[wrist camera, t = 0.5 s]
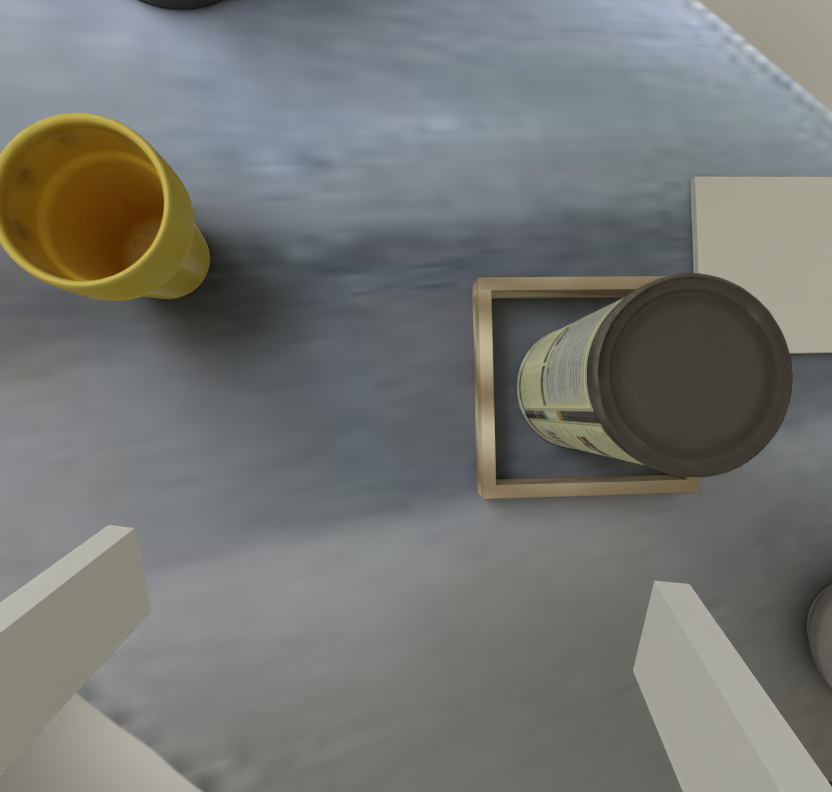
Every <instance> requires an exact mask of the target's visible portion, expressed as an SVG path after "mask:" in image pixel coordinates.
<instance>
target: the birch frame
mask: <svg viewBox="0 0 832 792" xmlns="http://www.w3.org/2000/svg"><path fill="white" fill-rule="evenodd" d="M662 277H665V276H619V277H486V278H478V279H477V280H476V282H475V283H474V285H473V287H472V294H473V336H474V378H475V421H476V463H477V492H478V493H479V495H480V496H481V497H482V498H483V499H495V498H528V497H561V496H593V495H626V494H659V493H692V492H699V477H681V476H675V475H670V474H664V475H629V476H594V477H559V478H524V479H496V463H495V422H494V382H493V341H492V301H491V299H497V298H600V297H626V296H627V295H629V294H630V293H632V292H633V291H635V290H636V289H638V288H639V287H641V286H643V285H645V284H647V283H649V282H651V281H653V280H656V279H659V278H662Z"/></svg>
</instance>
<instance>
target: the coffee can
mask: <svg viewBox="0 0 832 792" xmlns="http://www.w3.org/2000/svg"><path fill="white" fill-rule="evenodd" d="M792 376H793V375H792V363H791V357H790V353H789V349H788V346H787V342H786V340H785V337H784V335H783V333H782V331H781V329H780V327H779V325H778V324H777V322H776V321H775V319H774V317H773V316H772V314H771V313H770V311H769V310H768V309H767V308H766V307H765V306H764V305H763V304H762V303H761V302H760V301H759V300H758V299H757V298H756V297H754V296H753V295H752V294H751V293H749V292H748V291H747V290H745V289H744V288H742V287H740V286H738V285H737V284H735V283H733V282H730V281H728V280H726V279H723V278H720V277H716V276H712V275H707V274H700V273H683V274H674V275H669V276H665V277H662V278H659V279H656V280H653V281H651V282H649V283H647V284H645V285H643V286H641V287H639V288H638V289H636V290H635V291H633V292H632V293H630V294H629V295H627V296H626V297H624V298H622V299H620V300H618V301H616V302H614V303H612V304H610V305H608V306H606V307H604V308H602V309H600V310H598V311H596V312H594V313H592V314H590V315H588V316H585V317H583V318H581V319H579V320H578V321H576V322H574V323H572V324H569V325H567V326H565V327H563V328H561V329H559V330H556V331H553V332H551V333H549V334H547V335H545V336H544V337H542V338H541V339H540V340H538V341H537V342H536V343H535V344H534V345H533V346H532V347H531V349H530V350H529V351H528V352H527V354H526V355H525V357H524V359H523V361H522V363H521V366H520V369H519V372H518V377H517V384H516V388H517V398H518V403H519V406H520V409H521V412H522V414H523V416H524V418H525V419H526V421H527V422H528V424H529V425H530V426H531V428H532V429H533V430H534V431H535V432H536V433H537V434H539V435H540V436H541V437H543V438H544V439H545V440H547V441H549V442H551V443H553V444H555V445H558V446H561V447H565V448H572V449H578V450H582V451H586V452H590V453H595V454H599V455H603V456H607V457H612V458H616V459H620V460H624V461H629V462H633V463H637V464H641V465H646V466H648V467H650V468H652V469H655V470H658V471H661V472H663V473H666V474H670V475H675V476H681V477H708V476H714V475H719V474H722V473H726V472H729V471H731V470H733V469H736V468H738V467H740V466H742V465H743V464H745V463H747V462H748V461H749V460H750V459H752V458H753V457H755V456H756V455H757V454H758V453H759V452H760V451H761V450H762V449H763V448H764V447H765V446H766V445H767V444H768V443H769V442H770V440H771V439H772V438H773V437H774V435H775V434H776V432H777V431H778V429H779V428H780V426H781V424H782V422H783V420H784V417H785V415H786V412H787V409H788V405H789V402H790V397H791V390H792Z"/></svg>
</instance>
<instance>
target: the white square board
mask: <svg viewBox="0 0 832 792" xmlns="http://www.w3.org/2000/svg"><path fill="white" fill-rule="evenodd" d="M690 189H691V217H692V246H693V273H700V274H707V275H712V276H716V277H720V278H723V279H726V280H728V281H730V282H733V283H735V284H737V285H738V286H740V287H742V288H744V289H745V290H747V291H748V292H749V293H751V294H752V295H753V296H754V297H756V298H757V299H758V300H759V301H760V302H761V303H762V304H763V305H764V306H765V307H766V308H767V309H768V310H769V311H770V313H771V314H772V316H773V317H774V319H775V321H776V322H777V324H778V325H779V327H780V329H781V331H782V333H783V335H784V337H785V340H786V342H787V346H788V349H789V353H790V354H802V353H832V177H694V178H693V179H691V180H690Z"/></svg>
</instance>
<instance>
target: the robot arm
mask: <svg viewBox="0 0 832 792" xmlns="http://www.w3.org/2000/svg"><path fill="white" fill-rule="evenodd" d="M142 1H145V2H148V3H150V4H154V5H157V6H162V7H168V8H179V9H182V8H196V7H202V6H206V5H209V4H213V3H215V2H218V1H220V0H142ZM150 612H151V607H150V602H149V597H148V592H147V587H146V582H145V577H144V572H143V567H142V562H141V557H140V552H139V547H138V542H137V537H136V532H135V528H130V527H120V526H110V525H108V526H107V527H105V528H104V529H102V530H101V531H100V532H98V533H97V534H95V535H94V536H93V537H91V538H90V539H88V540H87V541H86V542H84V543H83V544H81V545H80V546H79V547H77V548H76V549H74V550H73V551H72V552H70V553H69V554H67V555H66V556H65V557H63V558H62V559H60V560H59V561H58V562H56V563H55V564H53V565H52V566H51V567H49V568H48V569H46V570H45V571H44V572H42V573H41V574H39V575H38V576H37V577H35V578H34V579H32V580H31V581H30V582H28V583H27V584H25V585H24V586H23V587H21V588H20V589H18V590H17V591H16V592H14V593H13V594H11V595H10V596H9V597H7V598H6V599H4V600H3V601H2V602H0V775H1V774H2V773H3V771H4V770H5V769H6V768H7V767H8V766H9V765H10V764H11V763H12V761H14V760H15V758H16V757H17V756H18V755H19V754H20V753H21V752H22V751H23V750H24V749H25V748H26V746H27V745H28V744H29V743H30V742H31V741H32V740H33V739H34V738H35V737H36V736H37V734H38V733H39V732H40V731H41V730H42V729H43V728H44V727H45V726H46V725H47V724H48V723H49V721H50V720H51V719H52V718H53V717H54V716H55V715H56V714H57V713H58V712H59V711H60V710H61V709H62V707H63V706H64V705H65V704H66V703H67V702H68V701H69V700H70V699H71V698H72V696H74V694H75V693H76V692H77V691H78V690H79V689H80V688H81V687H82V686H83V685H84V684H85V683H86V681H87V680H88V679H89V678H90V677H91V676H92V675H93V674H94V673H95V672H96V671H97V670H98V668H99V667H100V666H101V665H102V664H103V663H104V662H105V661H106V660H107V659H108V658H109V657H110V655H111V654H112V653H113V652H114V651H115V650H116V649H117V648H118V647H119V646H120V645H121V644H122V642H123V641H124V640H125V639H126V638H127V637H128V636H129V635H130V634H131V633H132V632H133V631H134V629H135V628H136V627H137V626H138V625H139V624H140V623H141V622H142V621H143V620H144V619H145V618H146V616H147V615H148V614H149V613H150ZM633 672H634V674H635V677H636V679H637V682H638V684H639V686H640V689H641V691H642V694H643V696H644V699H645V701H646V703H647V706H648V708H649V711H650V713H651V716H652V718H653V720H654V723H655V725H656V728H657V730H658V733H659V735H660V737H661V740H662V742H663V745H664V747H665V750H666V752H667V754H668V757H669V759H670V762H671V764H672V767H673V769H674V771H675V774H676V776H677V779H678V781H679V784H680V786H681V788H682V791H683V792H832V782H828V781H827V779H826V778H825V776H824V775H823V774H822V772H821V771H820V769H819V768H818V767H817V765H816V764H815V762H814V761H813V759H812V758H811V757H810V755H809V754H808V752H807V751H806V749H805V748H804V747H803V745H802V744H801V742H800V741H799V739H798V738H797V737H796V735H795V734H794V732H793V731H792V730H791V728H790V727H789V725H788V724H787V722H786V721H785V720H784V718H783V717H782V715H781V714H780V712H779V711H778V710H777V708H776V707H775V705H774V704H773V702H772V701H771V700H770V698H769V697H768V695H767V694H766V693H765V691H764V690H763V688H762V687H761V685H760V684H759V683H758V681H757V680H756V678H755V677H754V675H753V674H752V673H751V671H750V670H749V668H748V667H747V665H746V664H745V663H744V661H743V660H742V658H741V657H740V656H739V654H738V653H737V651H736V650H735V648H734V647H733V646H732V644H731V643H730V641H729V640H728V638H727V637H726V636H725V634H724V633H723V631H722V630H721V628H720V627H719V626H718V624H717V623H716V621H715V620H714V619H713V617H712V616H711V614H710V613H709V611H708V610H707V609H706V607H705V606H704V604H703V603H702V601H701V600H700V599H699V597H698V596H697V594H696V593H695V591H694V590H693V589H692V587H691V586H690V584H682V583H673V582H663V581H654V585H653V589H652V593H651V597H650V602H649V606H648V610H647V614H646V618H645V622H644V627H643V631H642V635H641V639H640V643H639V648H638V652H637V656H636V660H635V664H634V669H633Z"/></svg>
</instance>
